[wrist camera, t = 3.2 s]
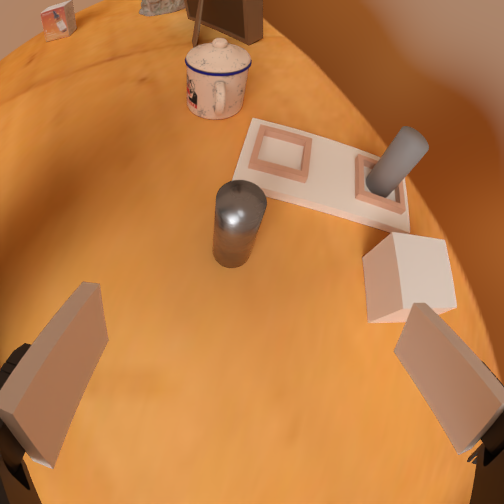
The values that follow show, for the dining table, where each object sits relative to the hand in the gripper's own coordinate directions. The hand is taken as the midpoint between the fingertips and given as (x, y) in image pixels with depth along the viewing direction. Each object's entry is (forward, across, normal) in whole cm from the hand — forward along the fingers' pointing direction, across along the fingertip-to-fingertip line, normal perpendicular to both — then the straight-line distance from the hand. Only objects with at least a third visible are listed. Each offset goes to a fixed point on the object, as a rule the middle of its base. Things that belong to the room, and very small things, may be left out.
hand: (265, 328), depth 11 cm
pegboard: (+29, +12, +4) cm, 32 cm away
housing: (+18, +19, -8) cm, 28 cm away
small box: (+63, -53, +38) cm, 91 cm away
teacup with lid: (+37, -5, +12) cm, 39 cm away
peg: (+21, -1, -5) cm, 21 cm away
